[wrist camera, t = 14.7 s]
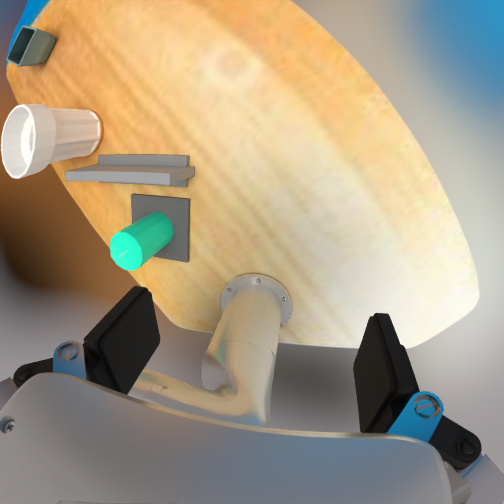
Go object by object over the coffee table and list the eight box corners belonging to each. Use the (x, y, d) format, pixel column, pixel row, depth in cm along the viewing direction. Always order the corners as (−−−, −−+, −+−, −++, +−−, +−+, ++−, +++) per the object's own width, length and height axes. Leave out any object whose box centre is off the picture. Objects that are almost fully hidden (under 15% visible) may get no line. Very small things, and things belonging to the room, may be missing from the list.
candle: (176, 217, 44) (138, 242, 33) (171, 249, 47) (136, 281, 36) (145, 208, 44) (103, 230, 33) (142, 240, 47) (103, 268, 36)
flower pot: (64, 34, 33) (36, 28, 25) (47, 69, 37) (18, 67, 28) (48, 30, 32) (22, 25, 24) (32, 62, 36) (5, 60, 28)
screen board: (193, 186, 42) (169, 198, 34) (98, 181, 45) (65, 191, 37) (195, 155, 41) (170, 160, 32) (97, 155, 43) (64, 161, 35)
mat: (189, 260, 48) (187, 262, 47) (136, 251, 49) (134, 252, 48) (190, 198, 43) (188, 199, 43) (133, 193, 45) (131, 194, 44)
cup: (61, 140, 43) (-5, 152, 27) (86, 94, 38) (16, 91, 23) (89, 173, 44) (20, 194, 29) (117, 125, 40) (44, 129, 24)
